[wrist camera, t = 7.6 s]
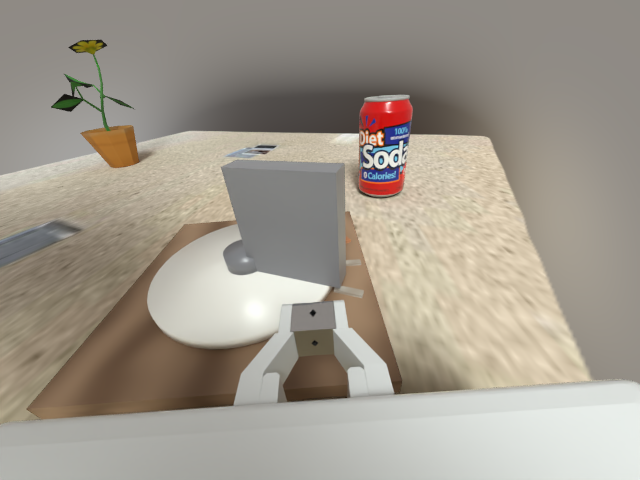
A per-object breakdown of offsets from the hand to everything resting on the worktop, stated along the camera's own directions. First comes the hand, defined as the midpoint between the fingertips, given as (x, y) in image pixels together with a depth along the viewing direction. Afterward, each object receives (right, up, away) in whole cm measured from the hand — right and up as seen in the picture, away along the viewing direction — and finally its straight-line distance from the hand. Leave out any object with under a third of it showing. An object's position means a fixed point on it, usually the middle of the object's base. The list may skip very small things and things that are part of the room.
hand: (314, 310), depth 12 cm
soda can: (+11, +12, +33) cm, 37 cm away
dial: (-7, 0, +13) cm, 15 cm away
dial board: (-7, -1, +15) cm, 16 cm away
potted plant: (-60, +27, +64) cm, 92 cm away
